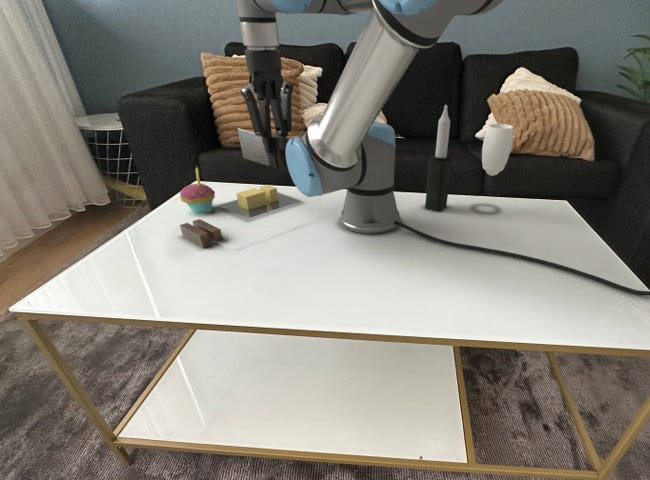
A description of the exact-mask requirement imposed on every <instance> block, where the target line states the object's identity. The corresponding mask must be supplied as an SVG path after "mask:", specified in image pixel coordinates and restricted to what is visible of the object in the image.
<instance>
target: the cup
mask: <svg viewBox="0 0 650 480" xmlns="http://www.w3.org/2000/svg"><path fill="white" fill-rule="evenodd" d="M513 136H514V126H513V125H510V124H505V123H490V124H488V125H487V128H486V131H485V134H484V137H483V143H482V148H481V164H482V169H483V170H484V171H485V172H486V174H487V175H489V176H490V177H493V176H497V175H498V174H500V172H502V171H503V170H504V169H505V167H506V165H507V163H508V160H509V157H510V154H511V151H512V145H513V139H514V138H513Z"/></svg>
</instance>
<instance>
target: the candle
mask: <svg viewBox="0 0 650 480" xmlns="http://www.w3.org/2000/svg"><path fill="white" fill-rule="evenodd" d="M448 111H449V110H448V105H447V104H445V105H444V106H443V111H442V114H441V116H440V118H439V120H438V123H437V124H438V125H437V134H436V143H435V144H436V145H435V154H434V155H432V156H431V157H430V158H429V159H428V168H427V170H428V171H427V179H426V180H427V181H426V192H425V205H424V208H425V209H426V210H430V211H434V212H442V211H443V210H445V209H447V206H448V197H449V189H450V181H451V172H452V164H453V163H452V162H453V159H452V158H451V156H450V155H448V146H449V137H450V128H451V119H450V117H449V113H448Z"/></svg>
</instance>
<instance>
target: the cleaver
mask: <svg viewBox="0 0 650 480" xmlns="http://www.w3.org/2000/svg"><path fill="white" fill-rule="evenodd" d="M237 133H238V138H239V143H240V147H241V154H242V157H243V159H246V160H248V161H249V160H250V161H252V162H255V163H259V164H262V165H264V166H269V167H270V164H269V157H268V153H266V151H265V147H264V140H263V138H262V137H260V136H257V135H255V133H254V131H251V130H247V129H243V128H241V127H240V128H239V127H238V128H237ZM272 138H274V139H275V143H276V148H277V149H281V150H285V151H286V145H287V143H288V141H289V139H288V137H286V138H285V137H282V136H278V134H273V133H272Z"/></svg>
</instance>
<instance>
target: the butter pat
mask: <svg viewBox="0 0 650 480" xmlns="http://www.w3.org/2000/svg"><path fill="white" fill-rule="evenodd" d="M259 190H261V191H264V192H265V197H266V201H268V202H270V203H273V202H277V201H278V194H277V192H278V189H277V187H274V186H271V185H269V184H264V185H261V186H259Z"/></svg>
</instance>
